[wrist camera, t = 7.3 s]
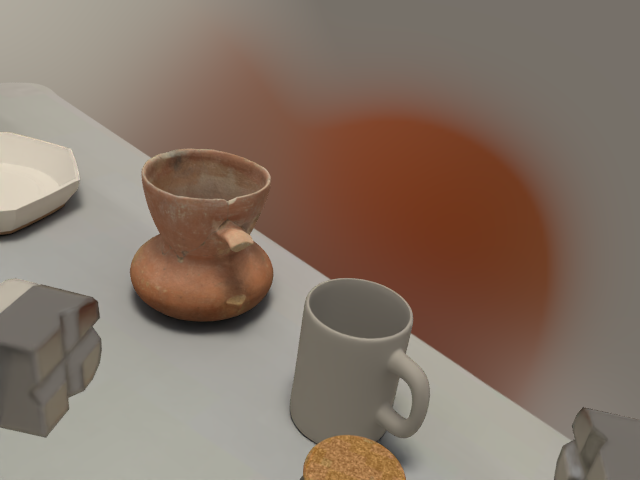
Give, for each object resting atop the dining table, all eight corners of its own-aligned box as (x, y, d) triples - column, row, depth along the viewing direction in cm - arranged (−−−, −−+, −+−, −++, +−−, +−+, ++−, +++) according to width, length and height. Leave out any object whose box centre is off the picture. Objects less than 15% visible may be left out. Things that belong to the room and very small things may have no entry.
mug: (268, 403, 51) (281, 296, 46) (340, 366, 57) (358, 266, 52) (370, 500, 44) (399, 386, 39) (441, 447, 50) (474, 340, 44)
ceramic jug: (300, 324, 62) (318, 198, 55) (161, 360, 54) (162, 220, 48) (228, 242, 75) (235, 132, 68) (108, 262, 67) (102, 141, 61)
